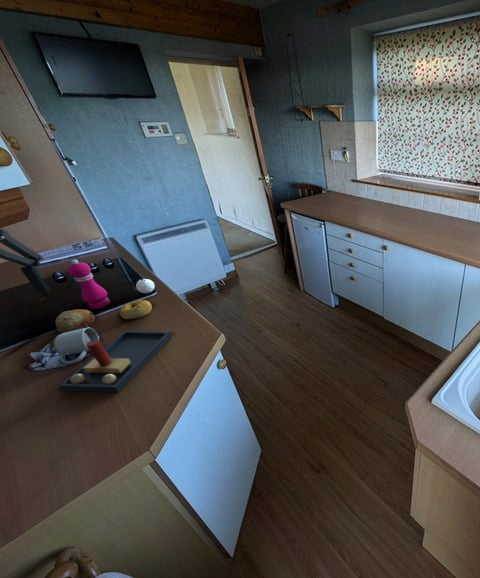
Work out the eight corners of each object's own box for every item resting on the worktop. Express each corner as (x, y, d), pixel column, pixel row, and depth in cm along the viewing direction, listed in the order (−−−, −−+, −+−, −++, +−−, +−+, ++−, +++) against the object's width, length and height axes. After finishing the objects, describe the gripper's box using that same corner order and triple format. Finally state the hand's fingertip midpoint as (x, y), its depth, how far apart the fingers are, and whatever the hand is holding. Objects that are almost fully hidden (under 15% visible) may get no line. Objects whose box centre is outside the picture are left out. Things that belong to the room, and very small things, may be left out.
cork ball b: (96, 381, 81) (106, 371, 82) (101, 382, 83) (110, 372, 85) (107, 386, 81) (116, 376, 83) (112, 387, 84) (120, 377, 85)
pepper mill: (110, 306, 117) (83, 261, 106) (86, 311, 113) (57, 265, 103) (113, 297, 122) (88, 254, 111) (90, 302, 119) (63, 258, 108)
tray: (63, 391, 82) (58, 385, 81) (127, 335, 102) (124, 330, 101) (118, 392, 82) (114, 387, 81) (172, 336, 102) (169, 331, 101)
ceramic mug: (71, 346, 97) (58, 328, 93) (102, 340, 100) (90, 322, 96) (55, 369, 89) (40, 350, 85) (89, 361, 92) (76, 343, 87)
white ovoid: (140, 297, 122) (131, 281, 118) (139, 291, 126) (131, 275, 122) (157, 293, 125) (149, 277, 121) (156, 287, 129) (149, 271, 125)
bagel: (153, 302, 120) (148, 292, 117) (153, 316, 112) (148, 306, 109) (123, 309, 115) (117, 299, 112) (120, 324, 107) (114, 314, 105)
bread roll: (67, 332, 108) (43, 321, 102) (93, 310, 113) (71, 299, 106) (76, 342, 104) (51, 331, 98) (102, 319, 108) (80, 308, 102)
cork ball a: (85, 380, 85) (71, 386, 83) (80, 371, 84) (66, 377, 82) (89, 380, 84) (75, 387, 81) (83, 371, 83) (69, 377, 80)
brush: (88, 375, 86) (67, 347, 80) (99, 365, 89) (80, 337, 84) (122, 375, 86) (104, 347, 80) (132, 365, 89) (115, 338, 84)
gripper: (-139, 241, 46) (-38, 343, 57) (29, 199, 67) (78, 279, 78) (-186, 240, 46) (-76, 342, 57) (-3, 199, 67) (50, 279, 78)
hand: (13, 306), depth 68 cm, fingers open, 13 cm apart
